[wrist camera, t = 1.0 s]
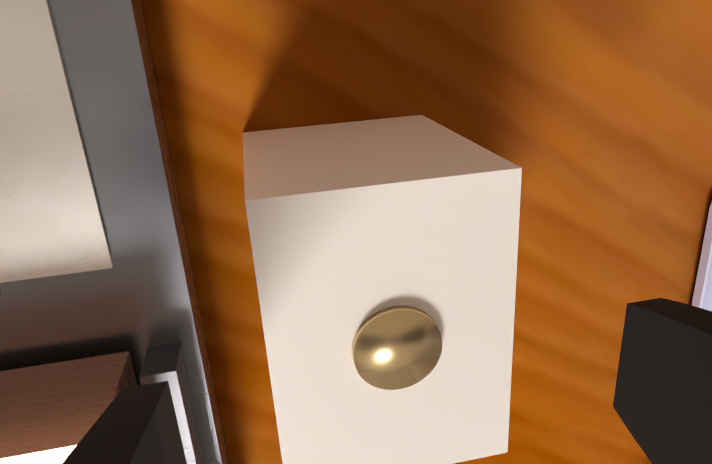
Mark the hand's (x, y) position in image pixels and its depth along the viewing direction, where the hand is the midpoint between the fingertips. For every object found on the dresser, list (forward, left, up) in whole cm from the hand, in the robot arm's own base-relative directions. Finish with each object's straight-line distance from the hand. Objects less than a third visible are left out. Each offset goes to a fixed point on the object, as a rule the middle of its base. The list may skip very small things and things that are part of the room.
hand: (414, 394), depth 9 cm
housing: (0, 0, -7) cm, 7 cm away
